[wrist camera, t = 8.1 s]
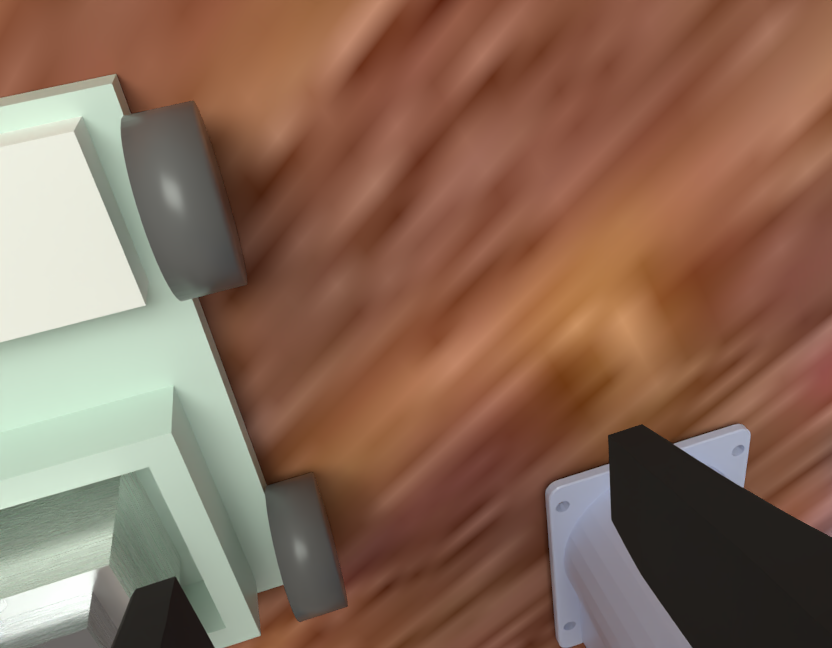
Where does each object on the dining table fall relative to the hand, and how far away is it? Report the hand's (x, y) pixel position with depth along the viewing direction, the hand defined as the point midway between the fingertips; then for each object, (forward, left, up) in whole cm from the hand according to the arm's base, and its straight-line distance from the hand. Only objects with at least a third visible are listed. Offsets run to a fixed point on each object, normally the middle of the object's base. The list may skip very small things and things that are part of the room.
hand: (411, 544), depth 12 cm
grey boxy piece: (-5, +8, -8) cm, 13 cm away
